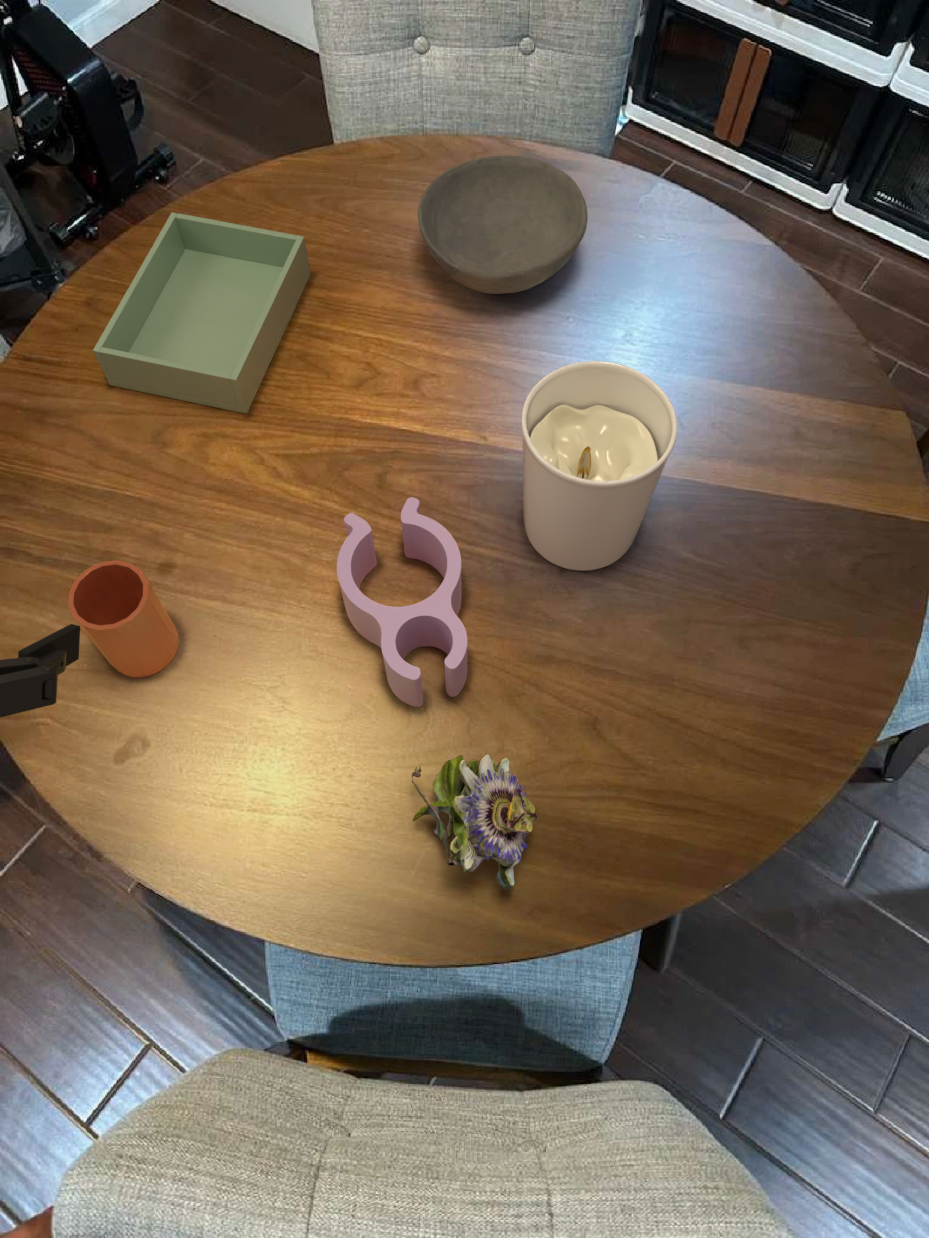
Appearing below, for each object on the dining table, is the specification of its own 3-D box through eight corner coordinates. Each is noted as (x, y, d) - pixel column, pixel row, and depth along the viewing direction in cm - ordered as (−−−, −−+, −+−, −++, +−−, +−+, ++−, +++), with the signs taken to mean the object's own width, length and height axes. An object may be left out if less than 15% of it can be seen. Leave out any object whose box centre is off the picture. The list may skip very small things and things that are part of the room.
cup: (95, 668, 99) (54, 619, 90) (124, 606, 103) (88, 553, 93) (162, 684, 99) (128, 637, 89) (189, 622, 102) (160, 569, 92)
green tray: (109, 385, 116) (92, 350, 111) (184, 249, 127) (171, 211, 122) (247, 414, 114) (236, 380, 109) (311, 274, 125) (304, 236, 119)
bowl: (585, 323, 121) (592, 273, 114) (417, 322, 121) (414, 273, 114) (577, 205, 130) (583, 153, 123) (422, 205, 131) (420, 152, 123)
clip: (495, 684, 98) (497, 656, 92) (377, 719, 97) (371, 692, 91) (439, 526, 107) (437, 490, 101) (329, 555, 105) (321, 520, 99)
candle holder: (505, 475, 110) (511, 366, 94) (632, 464, 111) (660, 354, 95) (522, 587, 103) (532, 491, 87) (658, 574, 104) (692, 476, 88)
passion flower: (511, 847, 96) (546, 896, 85) (402, 853, 94) (423, 904, 82) (514, 737, 95) (550, 771, 83) (404, 740, 92) (425, 776, 81)
